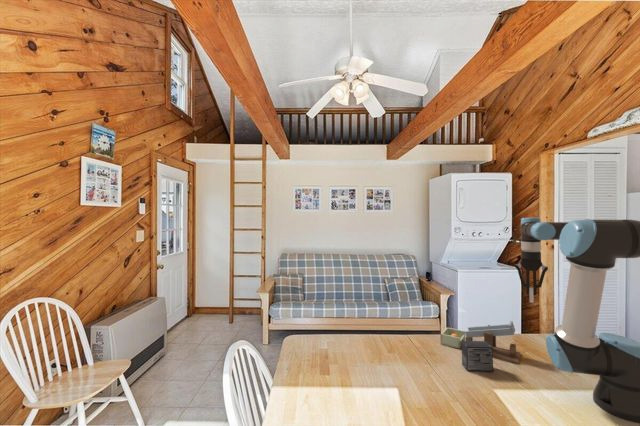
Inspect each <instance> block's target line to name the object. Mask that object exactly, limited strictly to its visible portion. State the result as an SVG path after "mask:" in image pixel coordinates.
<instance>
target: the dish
mask: <svg viewBox="0 0 640 426" xmlns="http://www.w3.org/2000/svg"><path fill="white" fill-rule="evenodd" d="M452 334H457V335H458V337H454V336H451V335H452ZM462 341H466V334H465V330H461V329H457V328H452V327H447V326H446V327H445V328H444V329H443V331H442V332H441V333H440V346H441V345H442V346H445V347H449V348H454V349H458V350H461V347H462Z"/></svg>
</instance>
